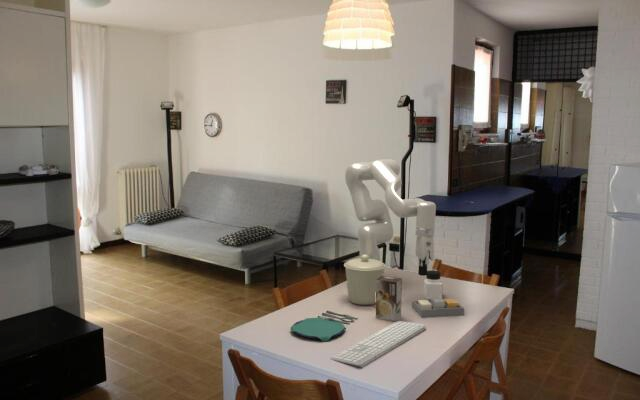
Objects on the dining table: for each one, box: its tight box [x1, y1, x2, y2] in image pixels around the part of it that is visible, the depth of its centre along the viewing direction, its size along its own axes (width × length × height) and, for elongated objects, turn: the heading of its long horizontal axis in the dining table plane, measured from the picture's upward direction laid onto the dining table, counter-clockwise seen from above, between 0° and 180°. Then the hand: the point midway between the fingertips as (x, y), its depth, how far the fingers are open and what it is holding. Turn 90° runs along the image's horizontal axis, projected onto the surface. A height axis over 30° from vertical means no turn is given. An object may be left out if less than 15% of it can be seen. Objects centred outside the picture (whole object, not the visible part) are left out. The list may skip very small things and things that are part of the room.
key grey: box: [430, 297, 445, 309], centre depth 230 cm, size 4×6×3 cm
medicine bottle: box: [423, 269, 444, 300], centre depth 249 cm, size 7×7×12 cm
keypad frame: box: [411, 299, 465, 318], centre depth 231 cm, size 18×12×3 cm, turn 99°
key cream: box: [417, 299, 432, 309], centre depth 230 cm, size 4×6×3 cm
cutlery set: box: [290, 310, 359, 342], centre depth 213 cm, size 20×30×2 cm, turn 148°
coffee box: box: [375, 275, 403, 322], centre depth 223 cm, size 9×6×16 cm
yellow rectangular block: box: [442, 298, 459, 308], centre depth 231 cm, size 4×6×3 cm
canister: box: [343, 254, 387, 306], centre depth 242 cm, size 18×18×21 cm
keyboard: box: [329, 320, 427, 368], centre depth 198 cm, size 44×12×2 cm, turn 141°
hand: (422, 274), depth 230 cm, fingers closed
